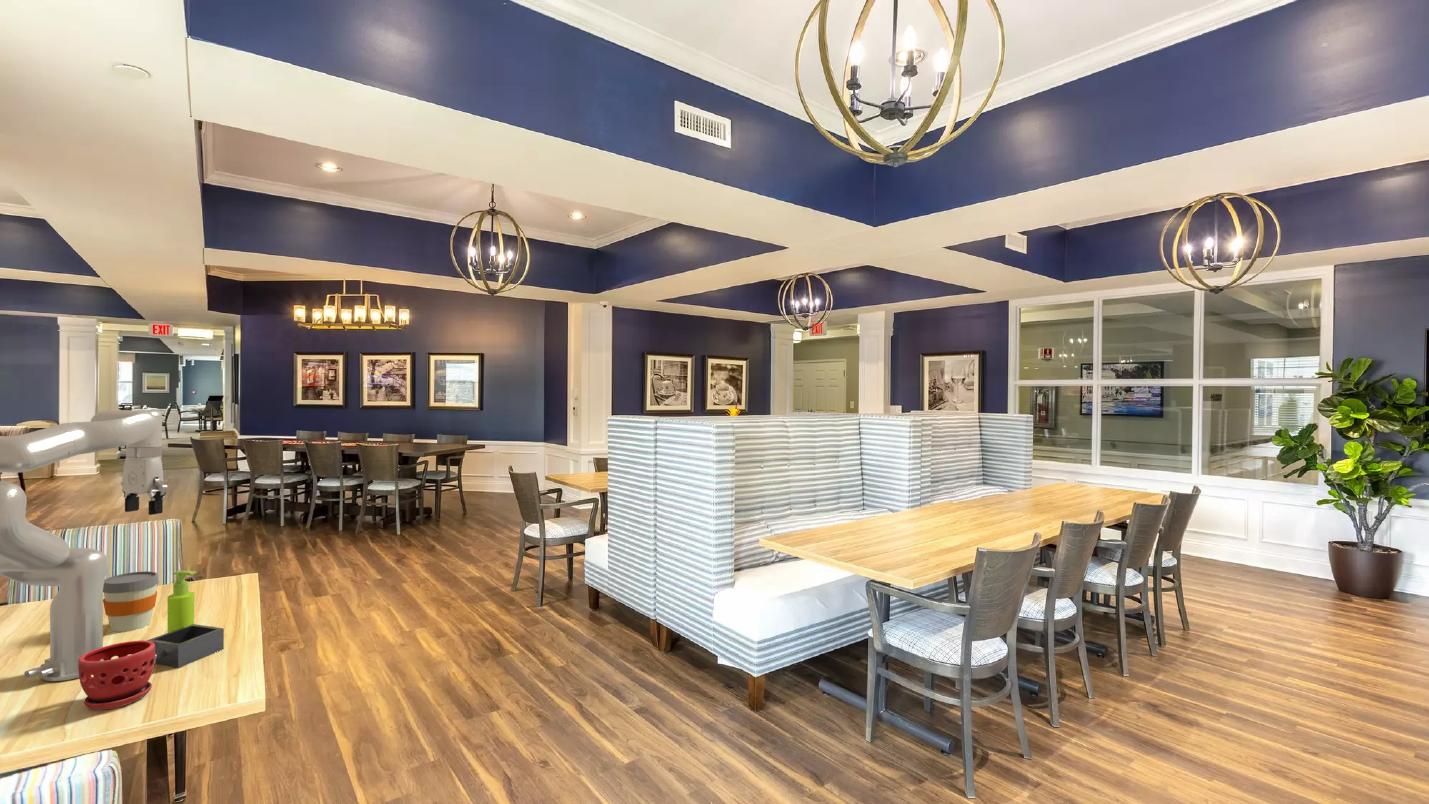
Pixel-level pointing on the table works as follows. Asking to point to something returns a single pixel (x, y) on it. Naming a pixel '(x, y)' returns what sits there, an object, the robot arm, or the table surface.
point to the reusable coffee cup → (130, 600)
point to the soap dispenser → (181, 603)
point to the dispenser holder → (187, 645)
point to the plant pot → (117, 674)
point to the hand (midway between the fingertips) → (143, 512)
